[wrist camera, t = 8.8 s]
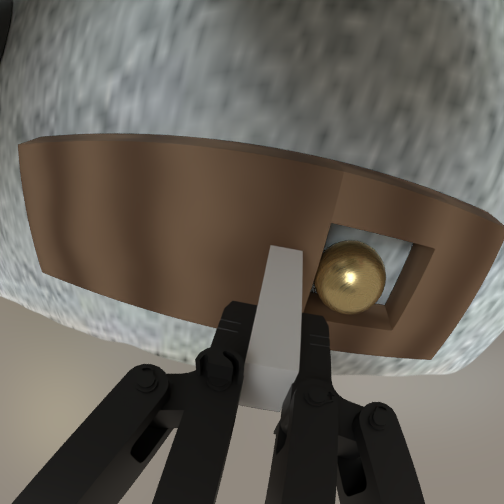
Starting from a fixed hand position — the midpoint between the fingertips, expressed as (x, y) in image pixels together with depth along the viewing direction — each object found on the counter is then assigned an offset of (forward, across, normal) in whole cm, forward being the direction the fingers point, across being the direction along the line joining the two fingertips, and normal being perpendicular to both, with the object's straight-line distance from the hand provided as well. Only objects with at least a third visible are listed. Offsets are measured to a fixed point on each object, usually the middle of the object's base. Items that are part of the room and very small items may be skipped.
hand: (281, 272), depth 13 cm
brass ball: (+1, +4, 0) cm, 4 cm away
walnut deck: (+3, -3, 0) cm, 5 cm away
